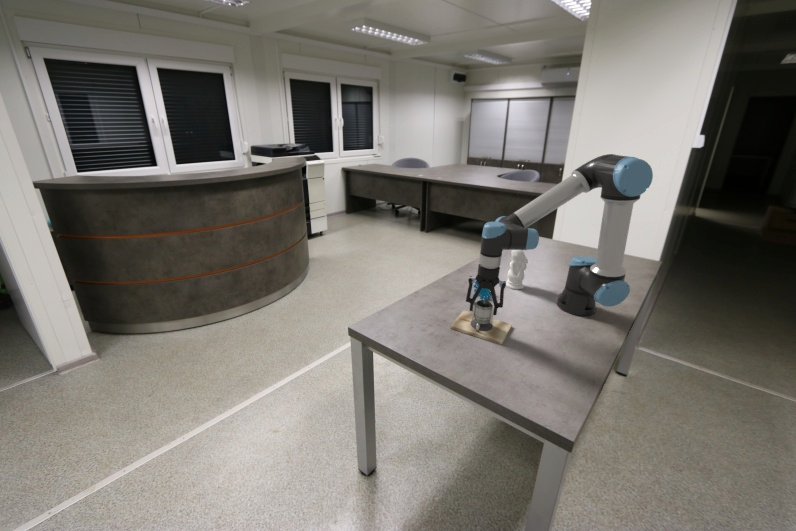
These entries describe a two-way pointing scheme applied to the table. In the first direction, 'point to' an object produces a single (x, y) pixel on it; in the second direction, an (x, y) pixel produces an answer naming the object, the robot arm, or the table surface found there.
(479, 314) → the camera lens
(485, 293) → the gear
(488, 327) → the seat
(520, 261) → the white statue
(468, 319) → the mount
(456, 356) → the table surface
